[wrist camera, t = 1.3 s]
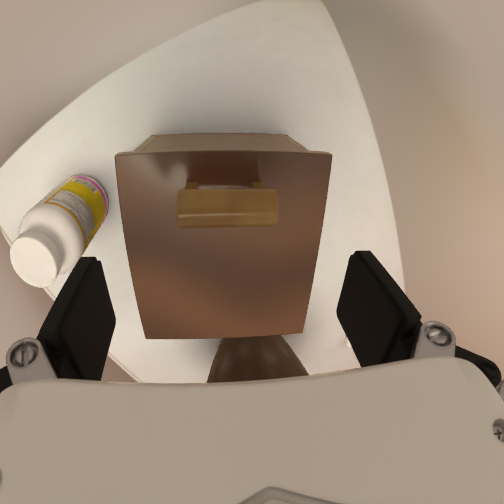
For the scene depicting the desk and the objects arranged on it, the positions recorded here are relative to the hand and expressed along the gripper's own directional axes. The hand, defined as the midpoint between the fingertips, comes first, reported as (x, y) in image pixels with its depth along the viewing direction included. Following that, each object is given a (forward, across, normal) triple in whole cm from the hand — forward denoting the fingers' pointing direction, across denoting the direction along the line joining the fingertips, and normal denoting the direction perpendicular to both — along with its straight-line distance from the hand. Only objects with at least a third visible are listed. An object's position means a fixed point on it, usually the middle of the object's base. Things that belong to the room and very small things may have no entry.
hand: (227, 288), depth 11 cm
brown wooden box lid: (+10, 0, +5) cm, 11 cm away
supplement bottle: (+22, +15, +4) cm, 27 cm away
